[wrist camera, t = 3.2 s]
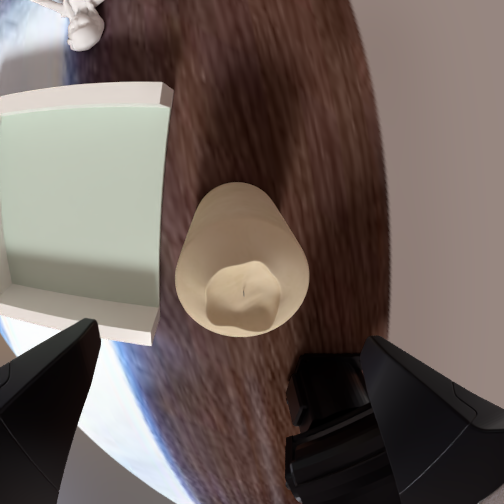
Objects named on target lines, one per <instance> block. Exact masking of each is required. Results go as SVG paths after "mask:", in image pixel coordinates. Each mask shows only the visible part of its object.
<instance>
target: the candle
mask: <svg viewBox="0 0 504 504" xmlns="http://www.w3.org/2000/svg"><path fill="white" fill-rule="evenodd" d="M175 285H176V290H177V294H178V297H179V300H180V302H181V304H182V306H183V307H184V309H185V310H186V312H187V313H188V314H189V315H190V316H191V317H192V318H193V319H194V320H195V321H196V322H197V323H199V324H200V325H202V326H203V327H205V328H206V329H209V330H211V331H213V332H216V333H218V334H222V335H226V336H233V337H248V336H255V335H260V334H263V333H266V332H269V331H271V330H273V329H275V328H277V327H279V326H280V325H282V324H283V323H285V322H286V321H287V320H288V319H289V318H291V317H292V316H293V315H294V313H295V312H296V311H297V310H298V309H299V307H300V305H301V304H302V302H303V300H304V298H305V296H306V293H307V290H308V285H309V267H308V262H307V259H306V256H305V254H304V252H303V250H302V248H301V246H300V245H299V243H298V241H297V240H296V238H295V236H294V235H293V233H292V231H291V230H290V228H289V227H288V225H287V223H286V222H285V220H284V219H283V217H282V215H281V214H280V212H279V211H278V209H277V207H276V206H275V204H274V203H273V201H272V200H271V199H270V197H269V196H268V195H267V194H266V193H265V192H264V191H262V190H261V189H259V188H258V187H256V186H253V185H251V184H248V183H242V182H231V183H226V184H223V185H220V186H218V187H216V188H214V189H213V190H211V191H210V192H209V193H208V194H206V195H205V197H204V198H203V199H202V200H201V202H200V204H199V205H198V208H197V210H196V212H195V215H194V217H193V220H192V223H191V226H190V228H189V231H188V234H187V237H186V240H185V242H184V245H183V248H182V251H181V254H180V257H179V260H178V263H177V267H176V273H175Z"/></svg>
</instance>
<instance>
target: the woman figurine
mask: <svg viewBox="0 0 504 504" xmlns="http://www.w3.org/2000/svg"><path fill="white" fill-rule="evenodd" d="M30 1H33V2H35V3H38V4H40V5H41V6H44V7H46V8H49V9H52V10H55V11H56V12H58V13H60V14H61V17H64V18H65V17H68V18H69V19H70V24H69V26H68V33H69V34H68V36H69V38H68V41H67V42H68V45H70V48H71V50H74V51H85V50H89V49H90V48H92V47H93V46H94V45H95V44H96V43H97V42H99V40H100V38H101V35H102V33H103V30H104V22H103V19H102V18H101V17H100V16H99V14H98V12H97V10H96V9H95V7H96V6H98V5H99V4H100V3H102V2H103V1H104V0H63V4H62V3H57V2H55V1H52V0H30Z"/></svg>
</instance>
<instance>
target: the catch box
mask: <svg viewBox="0 0 504 504" xmlns="http://www.w3.org/2000/svg"><path fill="white" fill-rule="evenodd" d="M173 94H174V90H173V89H171V88H170V87H169V86H167V85H166V84H165V83H163V82H108V83H91V84H78V85H68V86H59V87H51V88H43V89H37V90H30V91H24V92H19V93H13V94H8V95H4V96H0V315H3V316H7V317H10V318H14V319H18V320H21V321H25V322H29V323H33V324H37V325H41V326H45V327H49V328H54V329H58V330H64V329H66V328H68V327H70V326H71V325H73V324H75V323H77V322H78V321H80V320H82V319H84V318H90V319H95V320H96V321H97V323H98V327H99V333H100V338H103V339H109V340H114V341H121V342H127V343H133V344H140V345H147V346H152V343H153V339H154V336H155V333H156V329H157V326H158V323H159V319H160V240H161V217H162V199H163V185H164V172H165V161H166V151H167V141H168V132H169V124H170V116H171V108H172V101H173Z"/></svg>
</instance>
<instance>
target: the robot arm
mask: <svg viewBox="0 0 504 504" xmlns="http://www.w3.org/2000/svg"><path fill="white" fill-rule="evenodd" d="M100 346H101V338H100V333H99V327H98V323H97V321H96V320H95V319H90V318H84V319H82V320H80V321H78V322H77V323H75V324H73V325H71V326H70V327H68V328H66V329H64V330H63V331H61V332H59V333H58V334H56V335H54V336H52V337H51V338H49V339H47V340H46V341H44V342H42V343H40V344H39V345H37V346H35V347H34V348H32V349H30V350H29V351H27V352H25V353H24V354H22V355H20V356H18V357H17V358H15V359H13V360H12V361H11V362H10V363H9V362H8V363H7V364H5V365H3V366H2V367H0V504H56V503H57V499H58V494H59V489H60V485H61V481H62V477H63V473H64V469H65V465H66V462H67V458H68V455H69V451H70V448H71V444H72V441H73V437H74V434H75V431H76V428H77V425H78V421H79V418H80V415H81V412H82V409H83V406H84V403H85V400H86V398H87V395H88V392H89V389H90V386H91V383H92V379H93V375H94V370H95V366H96V362H97V358H98V354H99V350H100ZM305 359H307V360H305ZM362 370H363V373H362ZM286 396H287V398H286V401H287V404H288V405H289V410H290V414H291V419H292V423H293V425H294V426H299V428H300V432H301V433H300V434H298V435H295V436H293V435H292V436H290V437H287V438H286V447H285V479H286V487H287V488H288V489H289V490H291V492H292V494H293V495H294V497H295V498H296V499H297V500H298V501H299V502H300V503H302V504H504V409H502V408H501V407H499V406H497V405H495V404H493V403H491V402H489V401H487V400H485V399H483V398H481V397H479V396H477V395H475V394H473V393H472V392H470V391H468V390H466V389H465V388H463V387H461V386H460V385H458V384H456V383H455V382H452V381H451V380H450V379H448V378H447V377H445V376H443V375H442V374H440V373H438V372H437V371H435V370H434V369H432V368H431V367H429V366H427V365H426V364H424V363H422V362H421V361H419V360H418V359H416V358H414V357H413V356H411V355H410V354H408V353H406V352H405V351H403V350H402V349H400V348H398V347H397V346H395V345H393V344H392V343H390V342H389V341H387V340H386V339H384V338H382V337H381V336H369V337H368V338H367V339H366V341H365V344H364V347H363V349H362V351H361V353H359V354H304V355H302V356H301V357H300V358H299V361H298V364H297V368H296V371H295V374H293V375H292V376H291V379H290V382H289V385H288V388H287V391H286Z"/></svg>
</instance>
